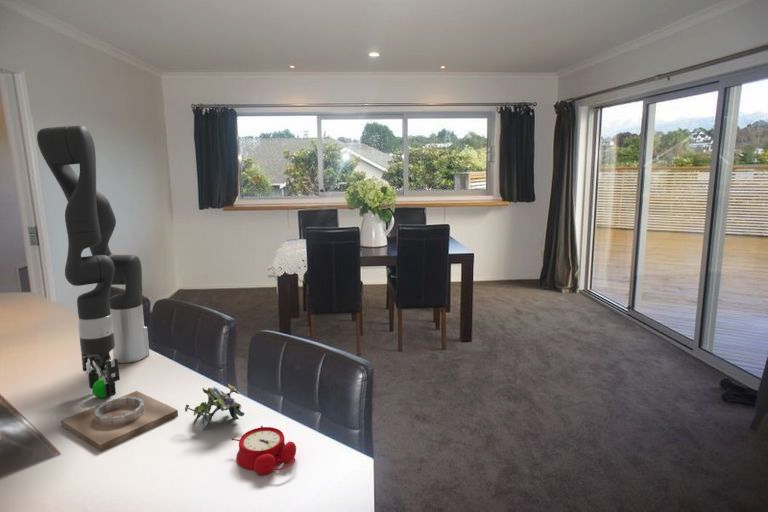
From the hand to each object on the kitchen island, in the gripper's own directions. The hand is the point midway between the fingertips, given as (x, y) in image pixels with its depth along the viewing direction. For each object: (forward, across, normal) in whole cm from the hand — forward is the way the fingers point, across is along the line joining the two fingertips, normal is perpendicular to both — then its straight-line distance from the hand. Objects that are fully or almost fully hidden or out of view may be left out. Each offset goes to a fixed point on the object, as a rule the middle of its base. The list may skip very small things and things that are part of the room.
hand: (102, 391), depth 124 cm
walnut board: (+2, -16, +4) cm, 17 cm away
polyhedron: (+2, 0, 0) cm, 2 cm away
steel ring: (0, -16, +4) cm, 17 cm away
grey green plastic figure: (+2, -36, -8) cm, 37 cm away
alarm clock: (+2, -56, -6) cm, 56 cm away
